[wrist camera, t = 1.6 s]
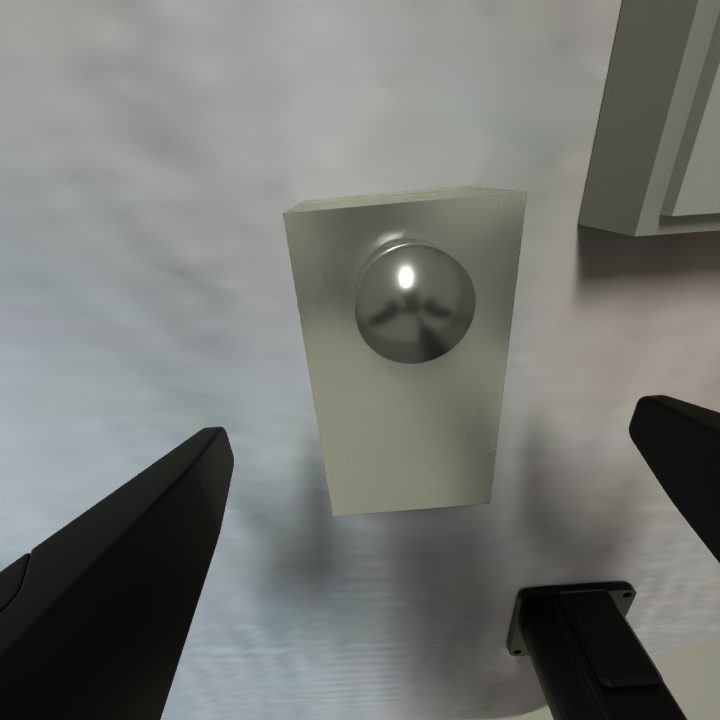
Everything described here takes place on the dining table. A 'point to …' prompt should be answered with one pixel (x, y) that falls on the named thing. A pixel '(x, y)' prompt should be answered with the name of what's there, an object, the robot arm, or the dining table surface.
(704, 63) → the stand
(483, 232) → the block
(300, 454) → the dining table surface
